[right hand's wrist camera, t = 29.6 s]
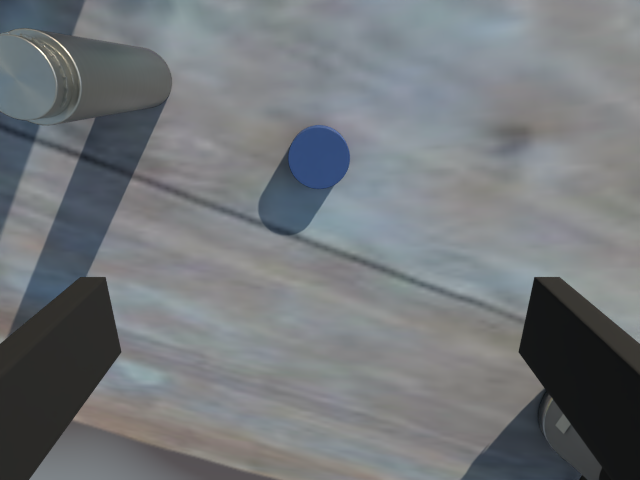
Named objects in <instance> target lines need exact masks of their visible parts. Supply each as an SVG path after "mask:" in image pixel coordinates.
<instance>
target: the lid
mask: <svg viewBox="0 0 640 480" xmlns="http://www.w3.org/2000/svg"><path fill="white" fill-rule="evenodd" d="M288 162H289V167H290V170H291V172H292V174H293V175H294V177H295V178H296V179H297V180H298V181H299V182H300V183H302V184H303V185H305V186H307V187H310V188H314V189H324V188H328V187H331V186H333V185H335V184H336V183H338V182H339V181H340V180H341V179H342V178H343V177H344V175H345V174H346V172H347V170H348V167H349V162H350V154H349V149H348V146H347V144H346V142H345V140H344V138H343V137H342V136H341V134H339V133H338V132H337V131H336V130H334V129H333V128H330V127H328V126H323V125H315V126H310V127H308V128H306V129H304V130H302V131H301V132H300V133H299V134H298V135H297V136H296V137H295V138H294V140H293V142H292V144H291V146H290V149H289V154H288Z"/></svg>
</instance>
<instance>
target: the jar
mask: <svg viewBox="0 0 640 480" xmlns="http://www.w3.org/2000/svg"><path fill="white" fill-rule="evenodd" d="M171 87H172V78H171V73H170V70H169V68H168V66H167V64H166V62H165V61H164V60H163V59H162V58H161V57H160V56H159V55H158V54H157V53H155V52H154V51H152V50H149V49H146V48H141V47H135V46H129V45H123V44H118V43H112V42H106V41H100V40H94V39H88V38H82V37H76V36H70V35H64V34H58V33H52V32H47V31H41V30H35V29H29V28H21V29H15V30H11V31H9V32H5V33H1V34H0V112H2V113H4V114H5V115H7V116H9V117H12V118H15V119H18V120H26V121H29V122H31V123H34V124H39V125H55V124H61V123H67V122H72V121H78V120H84V119H89V118H95V117H101V116H106V115H112V114H118V113H123V112H129V111H135V110H140V109H146V108H152V107H156V106H158V105H160V104H162V103H163V102H164V101H165V100H166V99H167V97H168V96H169V94H170V91H171Z"/></svg>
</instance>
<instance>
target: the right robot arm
mask: <svg viewBox="0 0 640 480" xmlns="http://www.w3.org/2000/svg"><path fill="white" fill-rule="evenodd" d="M120 353H121V348H120V343H119V339H118V334H117V329H116V324H115V320H114V315H113V310H112V306H111V301H110V296H109V291H108V287H107V282H106V277H80V278H79V279H78V280H76V281H75V282H74V283H73V284H72V285H70V286H69V287H68V288H67V289H66V290H64V291H63V292H62V293H61V294H60V295H58V296H57V297H56V298H55V299H54V300H52V301H51V302H50V303H49V304H48V305H46V306H45V307H44V308H43V309H42V310H40V311H39V312H38V313H37V314H36V315H34V316H33V317H32V318H31V319H30V320H28V321H27V322H26V323H25V324H24V325H22V326H21V327H20V328H19V329H18V330H16V331H15V332H14V333H13V334H12V335H10V336H9V337H8V338H7V339H6V340H4V341H3V342H2V343H1V344H0V480H29V479H30V477H31V476H32V475H33V473H34V472H35V471H36V469H37V468H38V466H39V465H40V464H41V462H42V461H43V459H44V458H45V457H46V455H47V454H48V453H49V451H50V450H51V449H52V447H53V446H54V444H55V443H56V442H57V440H58V439H59V437H60V436H61V435H62V433H63V432H64V431H65V429H66V428H67V426H68V425H69V424H70V422H71V421H72V420H73V418H74V417H75V415H76V414H77V413H78V411H79V410H80V408H81V407H82V406H83V404H84V403H85V402H86V400H87V399H88V397H89V396H90V395H91V393H92V392H93V391H94V389H95V388H96V386H97V385H98V384H99V382H100V381H101V379H102V378H103V377H104V375H105V374H106V373H107V371H108V370H109V368H110V367H111V366H112V364H113V363H114V362H115V360H116V359H117V357H118V356H119V355H120ZM519 353H520V355H521V356H522V357H523V359H524V360H525V362H526V363H527V364H528V366H529V367H530V368H531V370H532V371H533V373H534V374H535V375H536V377H537V378H538V379H539V381H540V382H541V384H542V385H543V386H544V388H545V389H546V391H547V392H546V393H545V395H544V397H543V399H542V401H541V404H540V407H539V413H538V421H539V426H540V429H541V431H542V433H543V435H544V437H545V438H546V440H547V441H548V443H549V444H550V446H551V447H552V448H553V449H554V451H555V452H556V453H557V454H558V455H559V456H560V457H561V458H563V459H564V460H565V461H567V462H568V463H569V464H571V465H572V466H573V467H574V468H575V469H576V470H577V471H578V472H579V473H580V474H582V476H581V478H580V479H579V480H640V344H639V343H638V342H637V341H636V340H634V339H633V338H632V337H631V336H630V335H628V334H627V333H626V332H625V331H624V330H622V329H621V328H620V327H619V326H618V325H616V324H615V323H614V322H613V321H612V320H610V319H609V318H608V317H607V316H606V315H604V314H603V313H602V312H601V311H600V310H598V309H597V308H596V307H595V306H594V305H592V304H591V303H590V302H589V301H588V300H586V299H585V298H584V297H583V296H582V295H580V294H579V293H578V292H577V291H576V290H574V289H573V288H572V287H571V286H570V285H568V284H567V283H566V282H565V281H564V280H562V279H561V278H560V277H534V282H533V287H532V291H531V296H530V301H529V306H528V310H527V315H526V320H525V324H524V329H523V334H522V339H521V343H520V348H519Z"/></svg>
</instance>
